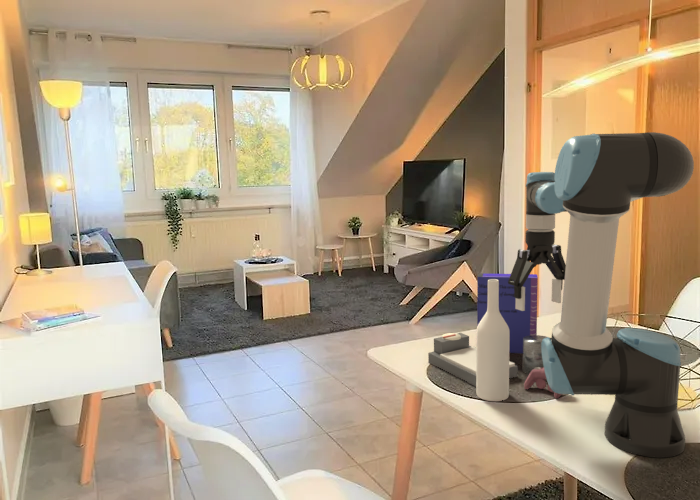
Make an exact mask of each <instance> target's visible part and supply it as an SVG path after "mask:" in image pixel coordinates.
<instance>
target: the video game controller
mask: <svg viewBox="0 0 700 500" xmlns="http://www.w3.org/2000/svg"><path fill="white" fill-rule="evenodd" d="M546 380H547V378H546V375H545V371H544V367H542V368H541V367H538V368H537V367H536V368H535V369H533V370H532V371H531V372H530V374H528V375H527V377H526V379H525V381H524V383H523V387H524V389H525V390H526V389H527V390H529V389H531V388H532V386H533V385H534V384H536V387H537V388H538V389H540V390H544V389H546V388H547V390H548V391H549V392H550V393H551V394H552V393H553V396H554V399H559V398H560V397H561V396H562V395H563V394H558V393H555V392H554V391H553V390H552V389H551V388H550V386H549V384H548V385H547V382H546Z"/></svg>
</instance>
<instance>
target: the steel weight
mask: <svg viewBox="0 0 700 500" xmlns="http://www.w3.org/2000/svg"><path fill="white" fill-rule="evenodd" d="M547 337H548V336H546V335H540V334H537V335H530V336H526V337H524V338H523V354H522V371H523V372H524V373H525V372H526V373H525V374H527V373H528V374H527V375H529V374H530V372H531V371H532V370H533V369H535V368H536V367H537V368H538V367H541V368H542V367H544V365H543V359H542V350H541V343H542V340H543V339H544V338H547Z"/></svg>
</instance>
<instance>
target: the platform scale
mask: <svg viewBox="0 0 700 500" xmlns="http://www.w3.org/2000/svg"><path fill="white" fill-rule="evenodd" d="M428 363H429V364H431V365H433V366H434V367H436V366H437V368H438V367H439V369H440V368H441V369H440V370H442V369H443V370H442V371H444V370H445V372H446V371H447V373H448V372H449V374H450V373H451V374H450V375H452V374H453V375H452V376H454V375H455V376H454V377H456V376H457V377H456V378H458V377H459V378H458V379H460V378H461V379H460V380H462V379H463V380H462V381H464V380H465V381H464V382H466V381H467V382H466V383H468V384H470V385H472V386H474V387H476V346H475V345H474V346H472V345H470V335H468V334H465V333H462V332H457V333H456V332H452V333H451V332H448V333H444V334H442V335H441V336H440V337H435V338H433V351H430V352H428ZM513 377H514V378H517V377H518V365H517V364H516V363H515V362H513V361H510V360H509V378H510V379H514V378H513Z"/></svg>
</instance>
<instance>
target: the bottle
mask: <svg viewBox="0 0 700 500" xmlns="http://www.w3.org/2000/svg"><path fill="white" fill-rule="evenodd" d="M476 326H477V325H476ZM475 335H476V338H475V339H476V340H475V341H476V344H475V345H476V346H475V347H476V386H475V387H476V388H475V390H476V391H475V392H476V393H475V394H476V396H477V398H479V399H482V400H483V401H488V402H502V400H503V401H505V400H507V399H508V398H509V396H510V379H509V361H510V353H509V343H510V332H509V327H508V325H507V324H506V322H505V320H504V319H503V317H502V315H501V314H500V312H499V280H497V279H489V280H488V306H487V312H486V314H485V315H484V317H483V318H482V319H481V321H480V323H479V324H478V326H477V327H476V334H475Z"/></svg>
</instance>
